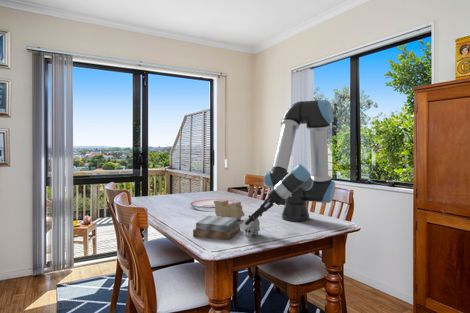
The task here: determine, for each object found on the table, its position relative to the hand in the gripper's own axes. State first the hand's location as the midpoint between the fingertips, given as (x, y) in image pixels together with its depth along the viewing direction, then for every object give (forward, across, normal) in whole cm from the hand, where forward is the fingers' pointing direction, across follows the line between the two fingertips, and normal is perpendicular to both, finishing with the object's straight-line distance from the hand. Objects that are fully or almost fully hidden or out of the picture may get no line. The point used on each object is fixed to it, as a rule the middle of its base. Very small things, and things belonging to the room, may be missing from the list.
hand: (244, 225), depth 142 cm
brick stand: (+12, 0, +6) cm, 14 cm away
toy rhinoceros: (+1, +1, -5) cm, 6 cm away
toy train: (+15, +28, +9) cm, 33 cm away
